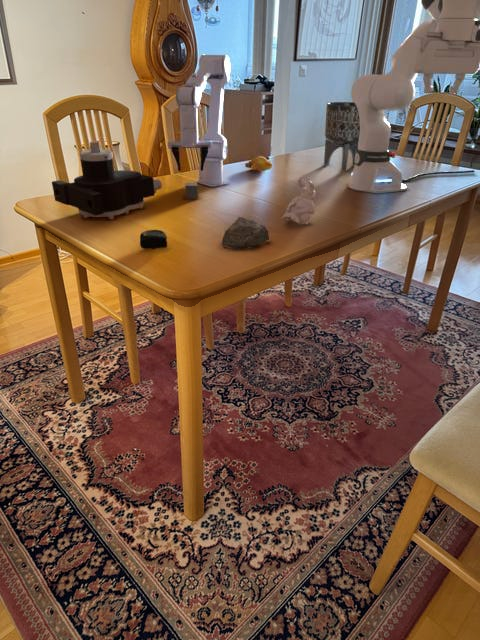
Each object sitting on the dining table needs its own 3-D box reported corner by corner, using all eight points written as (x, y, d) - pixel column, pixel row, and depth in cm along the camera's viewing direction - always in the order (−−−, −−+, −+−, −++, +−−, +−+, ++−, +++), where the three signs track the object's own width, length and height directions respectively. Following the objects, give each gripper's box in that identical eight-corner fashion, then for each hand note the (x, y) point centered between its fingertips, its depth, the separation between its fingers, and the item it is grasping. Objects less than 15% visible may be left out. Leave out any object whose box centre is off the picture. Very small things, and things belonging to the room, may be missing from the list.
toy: (243, 164, 194) (247, 156, 207) (248, 178, 197) (252, 170, 210) (268, 155, 191) (270, 148, 204) (272, 170, 194) (275, 162, 206)
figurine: (321, 218, 142) (325, 177, 135) (298, 231, 131) (302, 187, 125) (298, 213, 146) (301, 173, 139) (274, 225, 135) (277, 182, 128)
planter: (313, 167, 208) (319, 103, 195) (331, 160, 222) (338, 101, 209) (353, 173, 199) (362, 107, 185) (369, 166, 213) (379, 104, 199)
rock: (255, 233, 128) (256, 211, 124) (276, 242, 122) (278, 219, 119) (217, 244, 120) (217, 220, 117) (239, 254, 115) (239, 230, 111)
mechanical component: (44, 141, 131) (128, 131, 151) (57, 212, 142) (134, 194, 162) (86, 151, 119) (172, 139, 139) (97, 228, 130) (175, 206, 150)
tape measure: (140, 252, 115) (139, 238, 113) (141, 242, 120) (140, 229, 119) (167, 251, 116) (166, 237, 114) (167, 241, 121) (166, 228, 120)
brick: (186, 199, 158) (185, 185, 156) (185, 196, 162) (184, 182, 160) (197, 199, 159) (197, 185, 156) (196, 195, 163) (196, 182, 160)
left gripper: (167, 129, 144) (169, 173, 151) (212, 129, 146) (212, 172, 153) (166, 126, 150) (169, 168, 157) (210, 126, 152) (210, 168, 159)
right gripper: (433, 31, 110) (420, 94, 117) (491, 34, 118) (476, 93, 125) (414, 31, 115) (403, 92, 122) (471, 35, 123) (458, 92, 130)
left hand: (190, 170), depth 156 cm, fingers open, 7 cm apart
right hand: (440, 93), depth 124 cm, fingers open, 8 cm apart
